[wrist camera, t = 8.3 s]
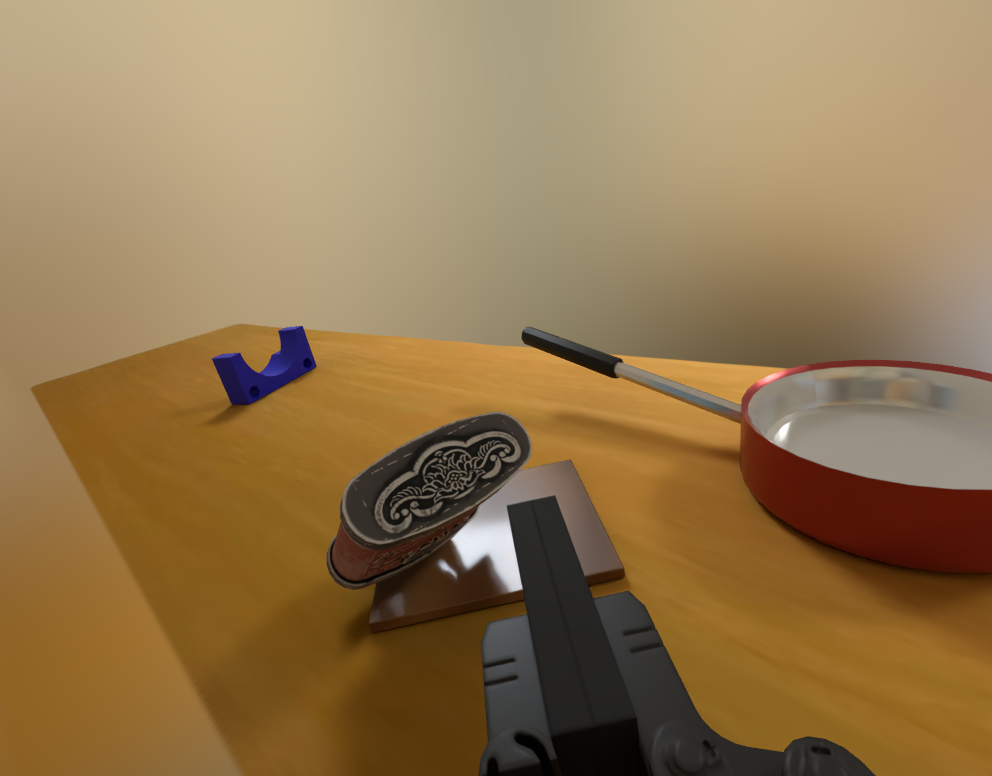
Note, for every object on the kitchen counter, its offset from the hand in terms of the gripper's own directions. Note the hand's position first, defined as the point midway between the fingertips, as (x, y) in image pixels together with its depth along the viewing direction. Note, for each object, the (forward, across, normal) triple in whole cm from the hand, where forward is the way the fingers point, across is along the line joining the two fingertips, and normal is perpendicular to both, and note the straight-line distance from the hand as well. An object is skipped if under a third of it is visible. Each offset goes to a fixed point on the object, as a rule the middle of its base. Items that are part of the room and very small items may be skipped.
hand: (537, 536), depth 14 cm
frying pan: (+14, +12, -8) cm, 20 cm away
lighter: (+4, -3, +1) cm, 5 cm away
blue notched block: (+49, -28, -8) cm, 57 cm away
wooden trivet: (+10, -2, -8) cm, 13 cm away
